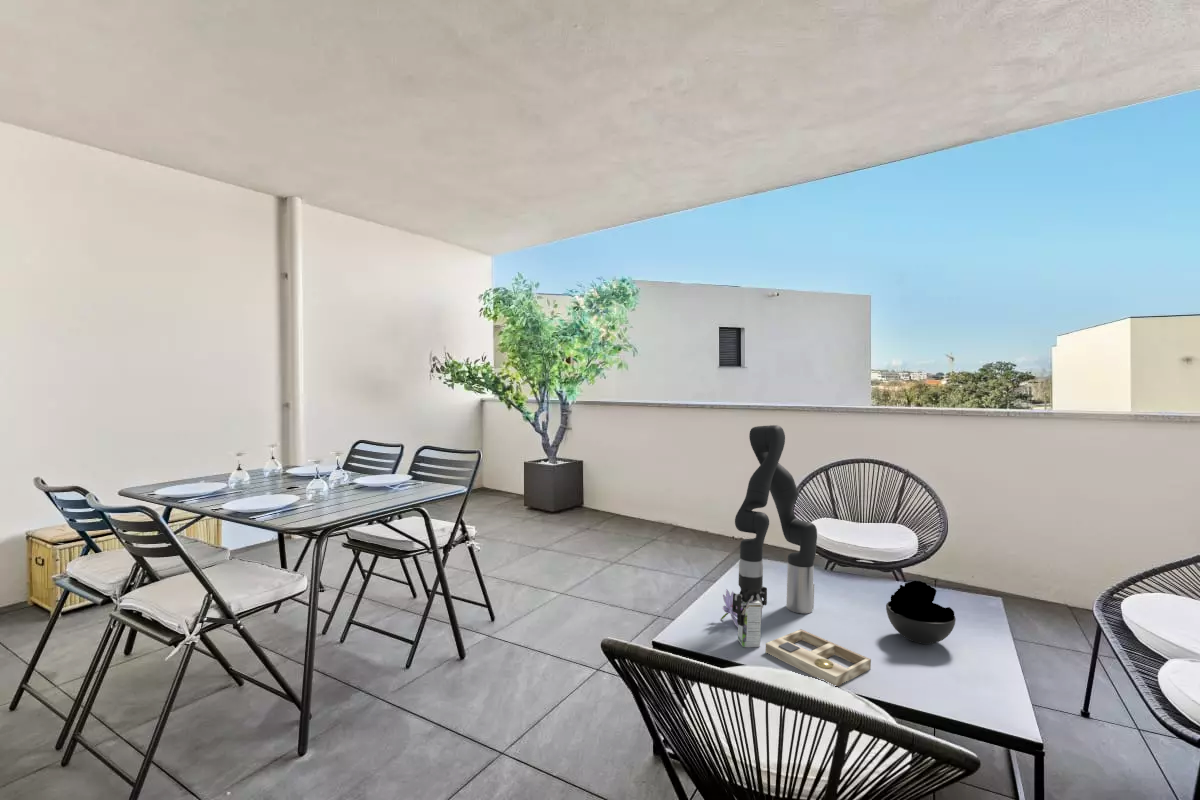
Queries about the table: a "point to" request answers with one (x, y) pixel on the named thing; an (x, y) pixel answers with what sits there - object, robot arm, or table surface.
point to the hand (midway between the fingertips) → (749, 622)
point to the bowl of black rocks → (919, 614)
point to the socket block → (818, 657)
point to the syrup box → (751, 625)
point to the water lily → (729, 606)
